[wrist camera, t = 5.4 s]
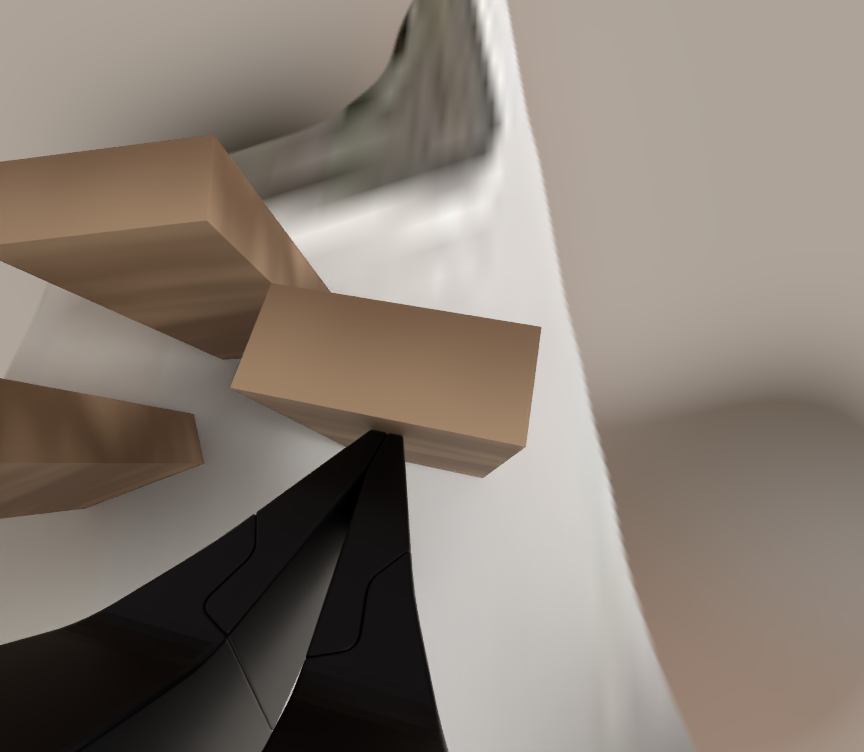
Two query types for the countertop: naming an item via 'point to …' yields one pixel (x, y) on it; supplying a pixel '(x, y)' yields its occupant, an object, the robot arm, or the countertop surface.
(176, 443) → the tile two
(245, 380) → the wooden block
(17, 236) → the light brown wooden block
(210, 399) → the countertop surface
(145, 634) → the robot arm
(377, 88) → the countertop surface
